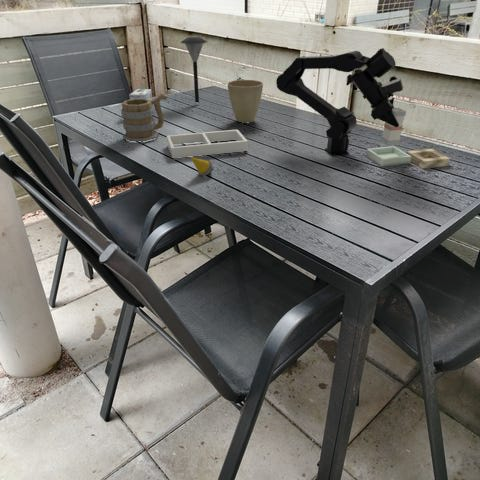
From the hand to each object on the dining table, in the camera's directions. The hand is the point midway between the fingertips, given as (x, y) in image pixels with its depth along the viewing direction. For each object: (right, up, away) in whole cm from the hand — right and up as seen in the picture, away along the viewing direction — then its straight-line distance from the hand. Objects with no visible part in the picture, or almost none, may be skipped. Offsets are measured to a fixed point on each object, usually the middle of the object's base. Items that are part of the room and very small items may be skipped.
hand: (398, 123), depth 144 cm
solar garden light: (-73, +28, +71) cm, 105 cm away
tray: (-1, -10, +7) cm, 13 cm away
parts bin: (-64, -5, +17) cm, 66 cm away
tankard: (-88, +3, +30) cm, 93 cm away
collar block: (+11, -12, +5) cm, 17 cm away
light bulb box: (-96, +18, +55) cm, 112 cm away
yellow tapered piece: (-63, -18, -4) cm, 66 cm away
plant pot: (-50, +13, +47) cm, 69 cm away
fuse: (-1, -5, +4) cm, 7 cm away
